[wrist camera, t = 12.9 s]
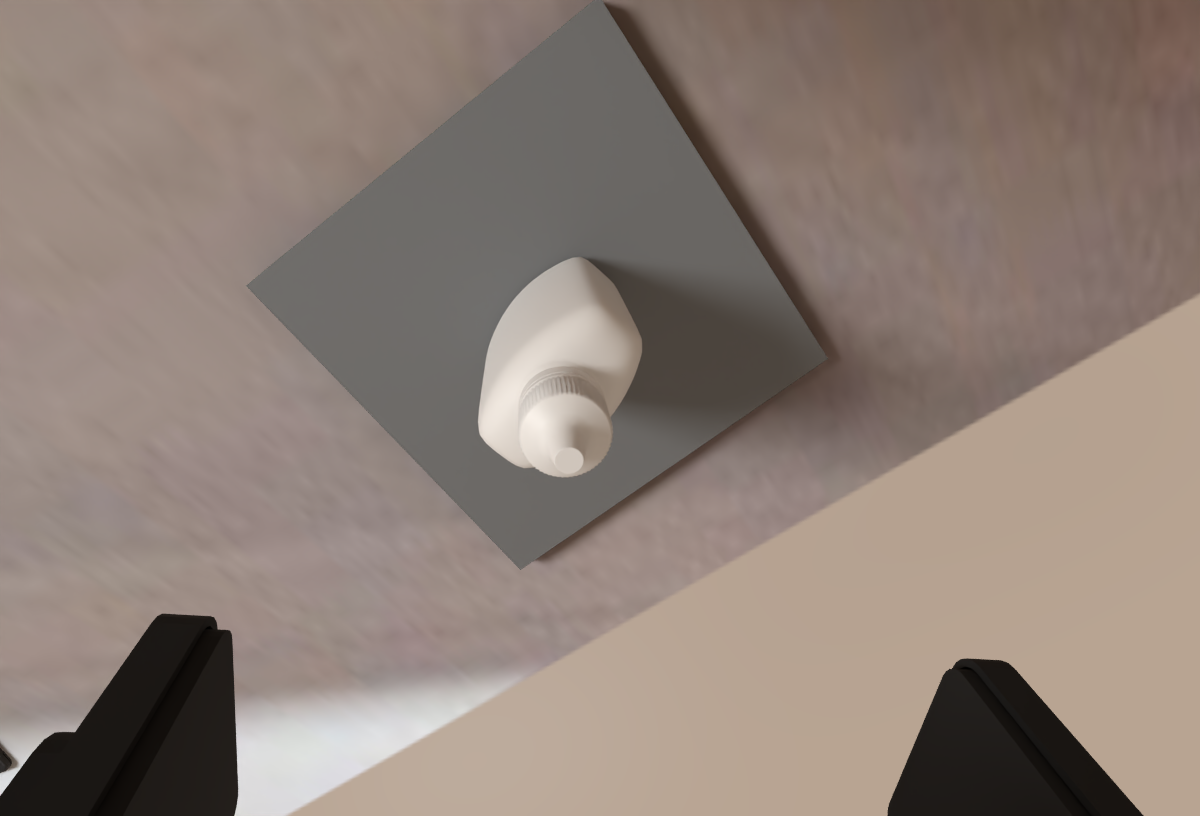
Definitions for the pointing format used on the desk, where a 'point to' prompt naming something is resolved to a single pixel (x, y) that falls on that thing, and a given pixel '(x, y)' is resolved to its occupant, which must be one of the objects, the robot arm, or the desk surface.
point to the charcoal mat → (526, 250)
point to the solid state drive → (4, 761)
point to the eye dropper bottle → (559, 371)
